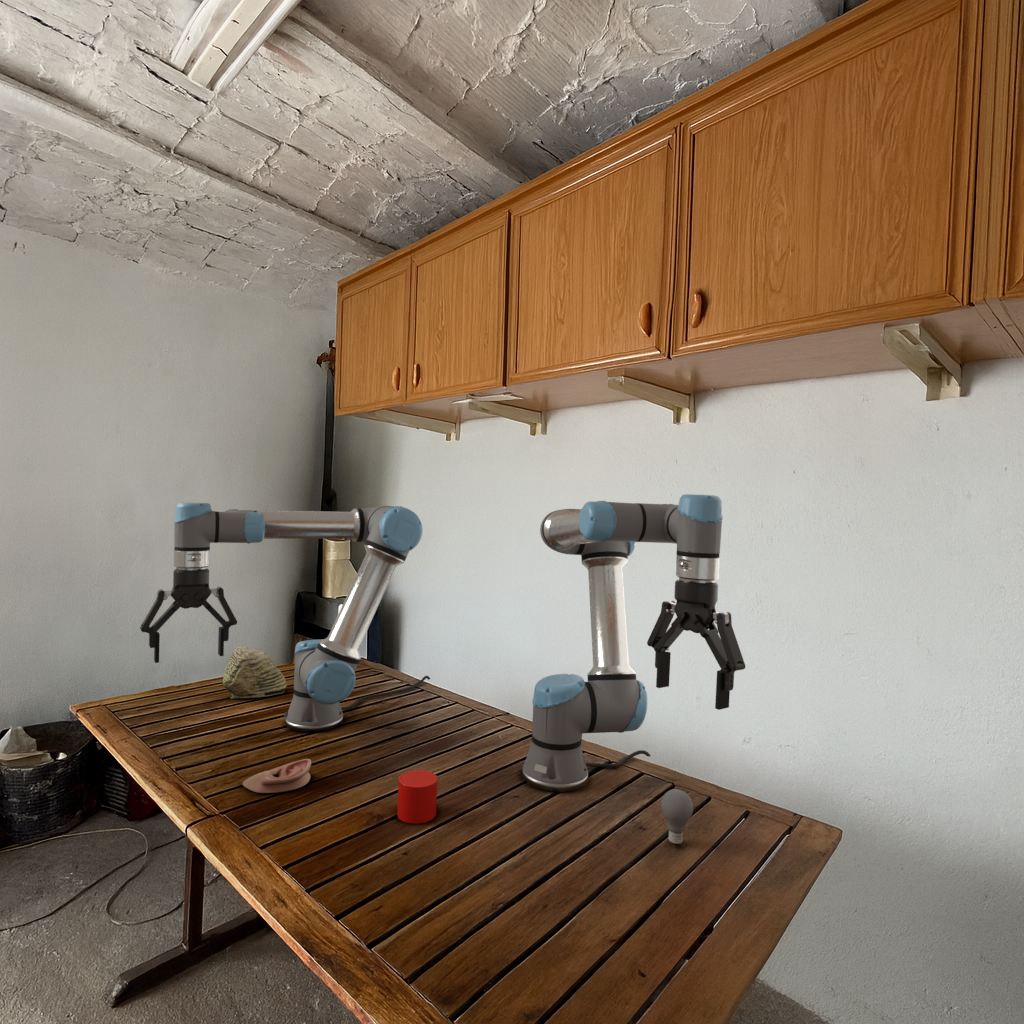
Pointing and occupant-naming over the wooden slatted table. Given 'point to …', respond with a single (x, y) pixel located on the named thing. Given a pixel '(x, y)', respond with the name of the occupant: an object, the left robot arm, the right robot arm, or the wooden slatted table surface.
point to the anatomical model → (280, 778)
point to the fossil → (252, 674)
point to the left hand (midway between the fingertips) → (189, 658)
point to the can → (417, 796)
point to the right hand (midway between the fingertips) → (690, 697)
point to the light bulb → (676, 813)
